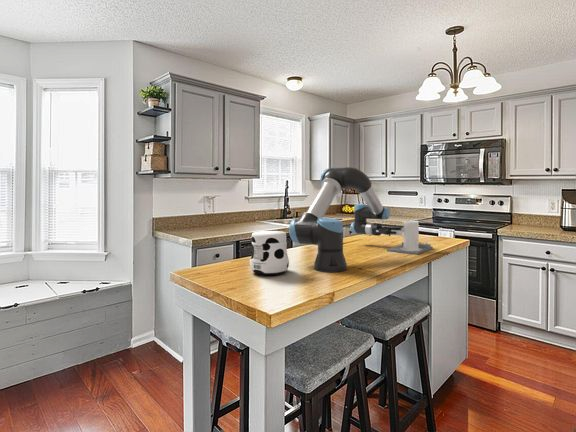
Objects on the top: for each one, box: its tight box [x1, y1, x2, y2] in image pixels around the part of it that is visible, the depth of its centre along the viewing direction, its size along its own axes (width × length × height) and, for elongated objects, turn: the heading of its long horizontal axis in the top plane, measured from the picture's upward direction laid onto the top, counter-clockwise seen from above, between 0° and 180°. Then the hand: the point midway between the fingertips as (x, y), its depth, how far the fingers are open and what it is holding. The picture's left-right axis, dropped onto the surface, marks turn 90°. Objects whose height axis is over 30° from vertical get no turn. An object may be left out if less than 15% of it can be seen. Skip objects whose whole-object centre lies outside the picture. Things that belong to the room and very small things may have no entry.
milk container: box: [249, 230, 290, 276], centre depth 157 cm, size 17×17×18 cm
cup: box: [402, 220, 420, 250], centre depth 202 cm, size 8×8×16 cm
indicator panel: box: [386, 241, 434, 256], centre depth 207 cm, size 24×18×4 cm
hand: (407, 231), depth 204 cm, fingers open, 13 cm apart
